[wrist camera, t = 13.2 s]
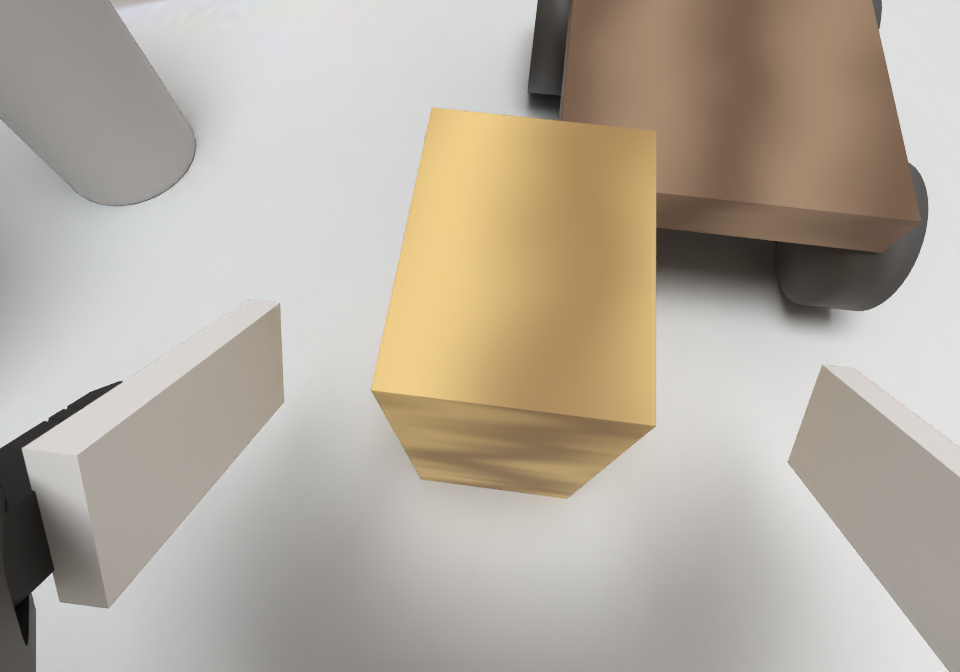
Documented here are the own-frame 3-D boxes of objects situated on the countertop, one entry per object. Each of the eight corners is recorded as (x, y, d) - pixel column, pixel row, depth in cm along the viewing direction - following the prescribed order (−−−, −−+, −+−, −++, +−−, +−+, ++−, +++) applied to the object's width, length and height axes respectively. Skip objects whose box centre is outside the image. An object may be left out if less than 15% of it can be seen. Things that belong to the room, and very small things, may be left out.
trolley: (502, 295, 26) (512, 192, 19) (534, 37, 33) (551, -108, 26) (835, 334, 25) (971, 243, 18) (797, 63, 32) (887, -78, 25)
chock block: (421, 479, 23) (370, 390, 12) (450, 303, 26) (432, 103, 15) (567, 498, 22) (655, 426, 11) (578, 318, 26) (656, 126, 15)
